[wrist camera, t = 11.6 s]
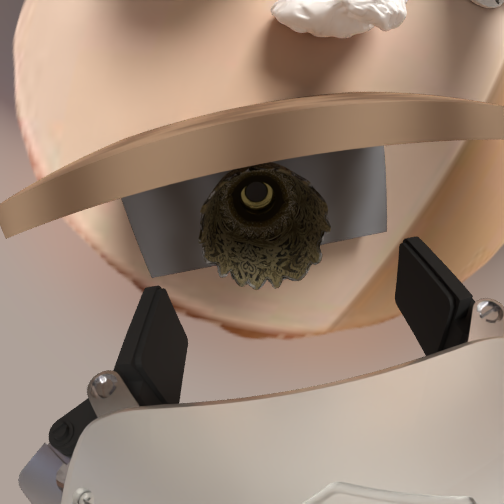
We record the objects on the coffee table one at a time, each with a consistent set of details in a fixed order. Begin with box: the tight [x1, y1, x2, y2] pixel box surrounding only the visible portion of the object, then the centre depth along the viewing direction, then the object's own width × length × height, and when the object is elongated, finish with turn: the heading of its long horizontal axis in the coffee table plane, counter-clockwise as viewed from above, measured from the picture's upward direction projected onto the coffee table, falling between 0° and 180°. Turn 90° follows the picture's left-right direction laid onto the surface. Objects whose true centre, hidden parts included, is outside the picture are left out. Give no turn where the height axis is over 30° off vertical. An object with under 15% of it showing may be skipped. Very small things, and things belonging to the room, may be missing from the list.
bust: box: [271, 0, 408, 38], centre depth 16 cm, size 12×8×11 cm
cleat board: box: [0, 92, 504, 278], centre depth 19 cm, size 22×12×18 cm, turn 101°
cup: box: [198, 162, 331, 290], centre depth 20 cm, size 8×7×8 cm
